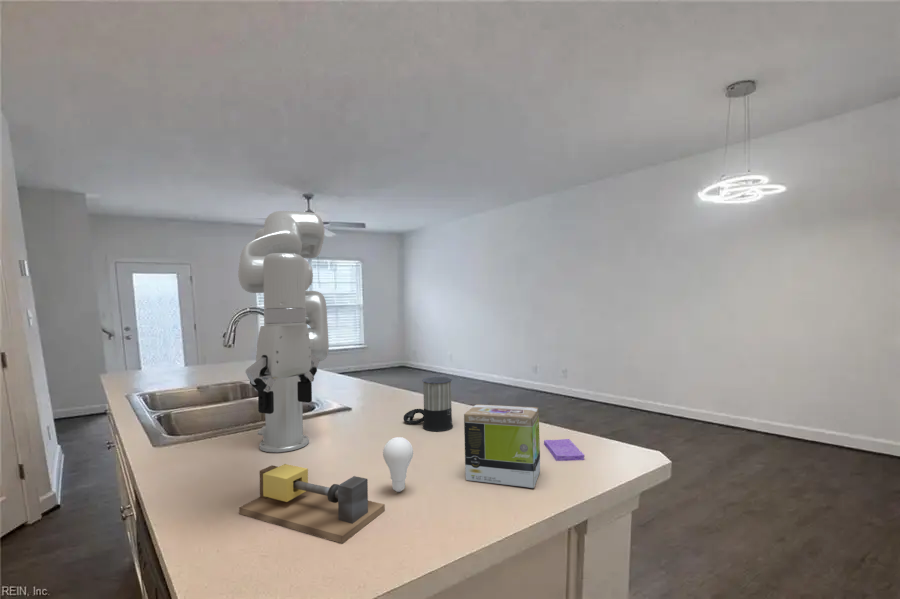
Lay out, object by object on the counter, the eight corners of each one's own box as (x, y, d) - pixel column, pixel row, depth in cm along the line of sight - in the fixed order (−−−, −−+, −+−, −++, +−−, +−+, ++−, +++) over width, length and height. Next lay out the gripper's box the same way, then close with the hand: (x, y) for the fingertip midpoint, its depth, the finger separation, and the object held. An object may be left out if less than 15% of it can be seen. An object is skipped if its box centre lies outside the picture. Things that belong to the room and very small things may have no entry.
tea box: (540, 471, 99) (540, 406, 99) (534, 490, 90) (533, 417, 90) (476, 464, 104) (475, 402, 104) (463, 481, 95) (463, 412, 95)
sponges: (556, 463, 105) (556, 455, 105) (543, 445, 118) (543, 438, 118) (585, 462, 106) (585, 454, 106) (569, 445, 118) (569, 438, 118)
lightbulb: (389, 500, 86) (388, 444, 86) (379, 489, 91) (378, 436, 91) (418, 494, 88) (417, 439, 88) (407, 483, 94) (406, 431, 94)
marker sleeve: (263, 495, 83) (263, 473, 83) (285, 484, 88) (285, 463, 88) (286, 501, 80) (286, 479, 80) (308, 490, 85) (307, 468, 85)
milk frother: (452, 432, 130) (452, 381, 129) (399, 432, 130) (398, 382, 130) (453, 418, 144) (452, 373, 144) (405, 419, 144) (404, 374, 144)
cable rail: (239, 513, 81) (238, 474, 81) (288, 488, 92) (288, 453, 92) (342, 543, 71) (342, 498, 71) (384, 510, 82) (384, 471, 82)
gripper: (303, 316, 94) (304, 396, 94) (232, 319, 78) (233, 416, 78) (330, 316, 91) (332, 399, 91) (262, 319, 75) (264, 420, 75)
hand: (286, 407), depth 84 cm, fingers open, 9 cm apart
